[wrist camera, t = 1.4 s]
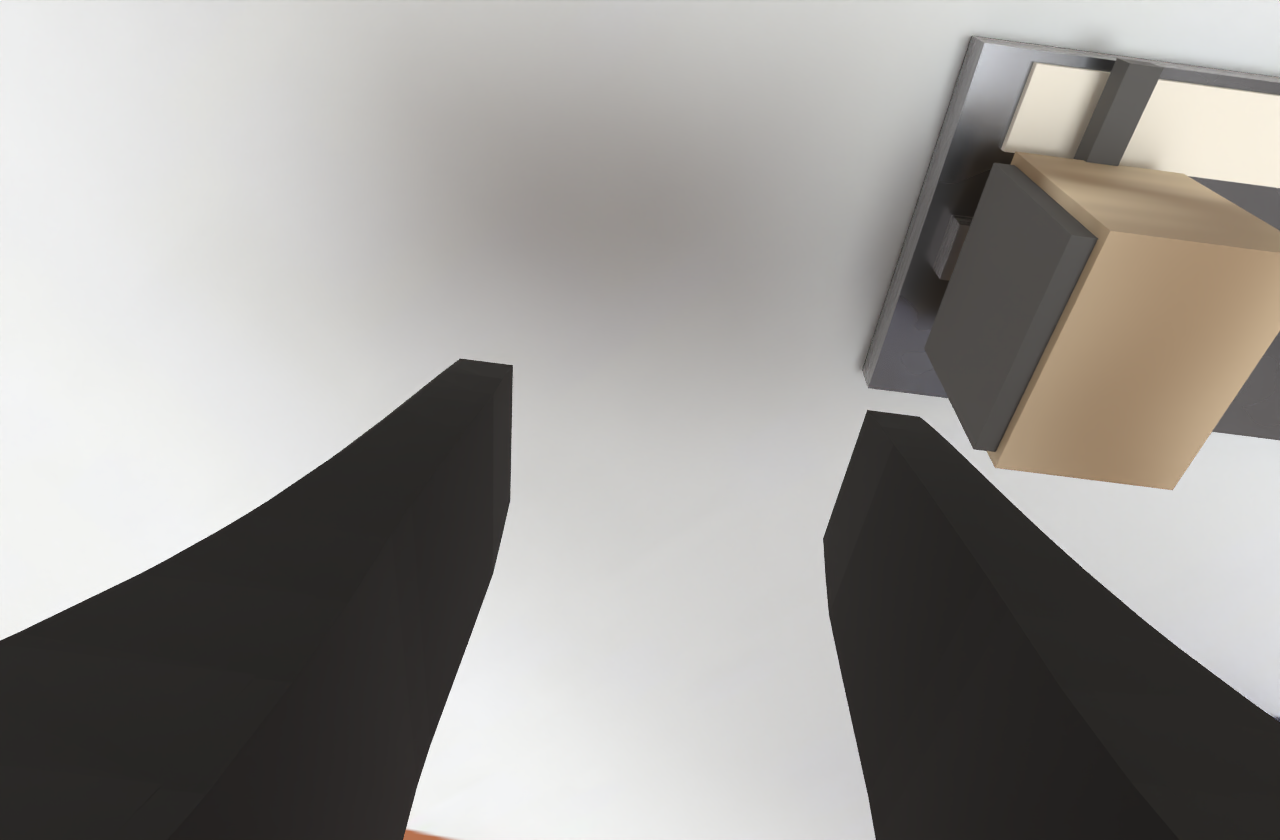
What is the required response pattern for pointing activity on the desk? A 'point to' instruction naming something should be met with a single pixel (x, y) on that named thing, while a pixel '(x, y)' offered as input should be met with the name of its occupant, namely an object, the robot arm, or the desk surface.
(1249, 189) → the gauge bed
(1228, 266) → the gauge slider
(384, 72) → the desk surface
